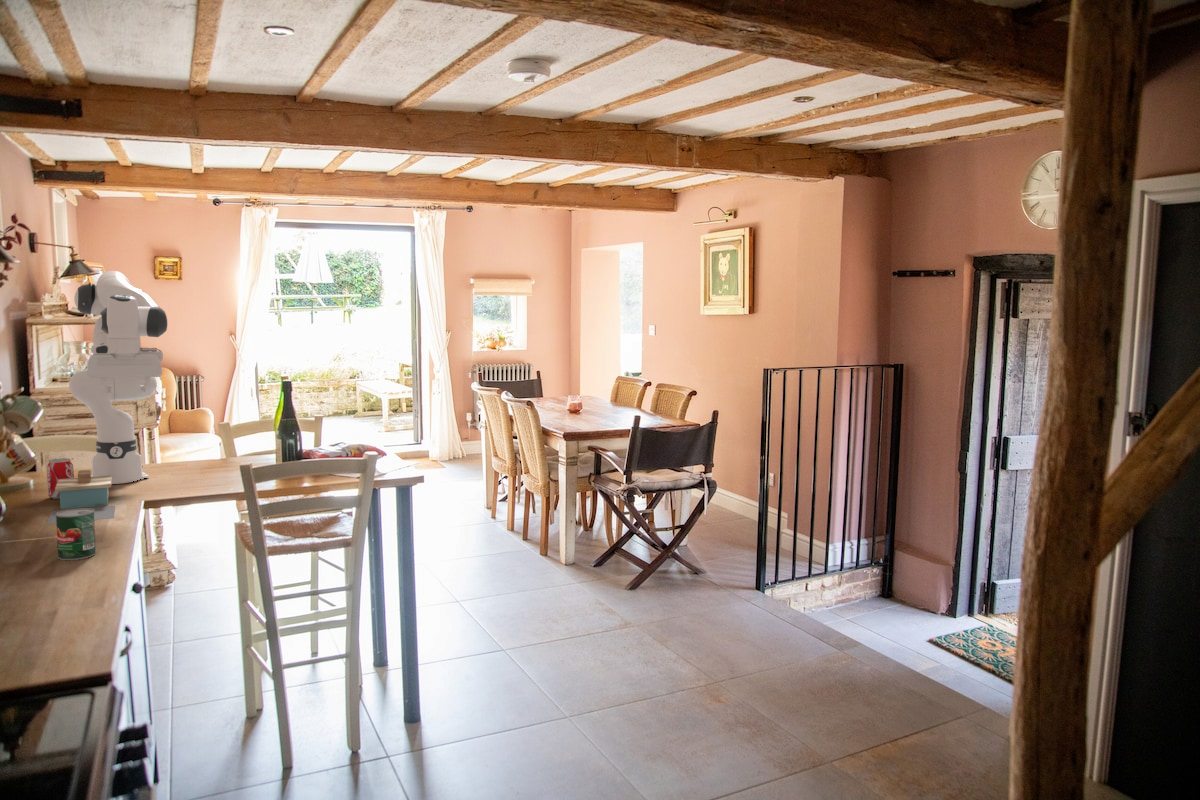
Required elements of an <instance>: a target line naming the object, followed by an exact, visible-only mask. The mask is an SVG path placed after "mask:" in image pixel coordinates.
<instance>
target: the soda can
mask: <svg viewBox="0 0 1200 800" xmlns="http://www.w3.org/2000/svg"><path fill="white" fill-rule="evenodd" d="M68 478H75V473H74V464H73V462H72V461H71V458H66V457H65V458H63V457H62V458H54V459H49V460H48V463H47V465H46V481H47V482H46V483H47V486H46V487H47V492H48V493H47V495H48V497H49V498H52V499H53V500H60V491H55V488H56V485H57V483H58V481H59V479H68Z"/></svg>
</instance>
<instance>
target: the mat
mask: <svg viewBox="0 0 1200 800" xmlns="http://www.w3.org/2000/svg"><path fill="white" fill-rule="evenodd" d="M89 508H90V509H93V510H94V521H96V520H108V519H109V520H110V519H115V510H116V506H115V505H110V506H109V505H105V506H94V507H89ZM64 510H65V509H60V510H51V512H50V515H49V517H48V519H47V521H46V525H53V524H54V525H55V524H56V513H58V512H60V511H64Z"/></svg>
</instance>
